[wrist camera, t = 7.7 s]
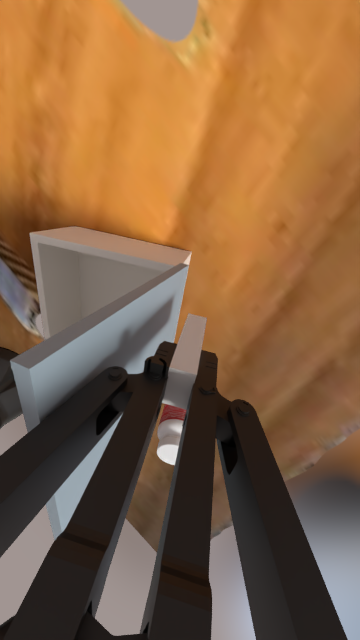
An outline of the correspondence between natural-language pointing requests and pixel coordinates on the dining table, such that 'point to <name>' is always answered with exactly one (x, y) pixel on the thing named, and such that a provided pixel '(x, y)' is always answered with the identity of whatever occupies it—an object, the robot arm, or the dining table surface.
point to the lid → (95, 366)
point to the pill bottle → (170, 433)
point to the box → (92, 271)
